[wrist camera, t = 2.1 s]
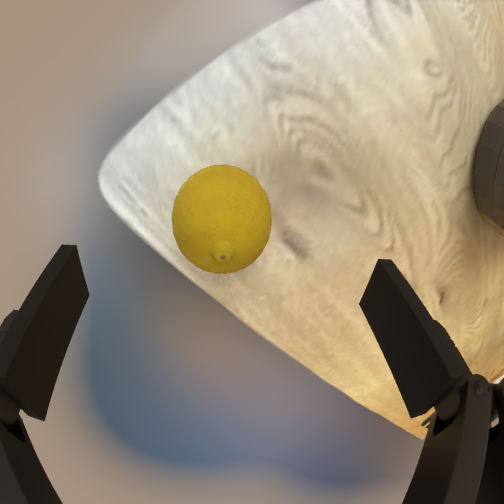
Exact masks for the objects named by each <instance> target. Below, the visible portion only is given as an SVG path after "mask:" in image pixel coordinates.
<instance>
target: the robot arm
mask: <svg viewBox="0 0 504 504" xmlns="http://www.w3.org/2000/svg"><path fill="white" fill-rule="evenodd" d="M88 297H89V292H88V288H87V285H86V281H85V278H84V274H83V271H82V266H81V263H80V259H79V254H78V250H77V246H76V245H61V247H60V248H59V249H58V251H57V252H56V253H55V255H54V256H53V258H52V259H51V261H50V262H49V264H48V265H47V266H46V268H45V269H44V271H43V272H42V274H41V275H40V277H39V278H38V280H37V282H36V283H35V285H34V286H33V288H32V289H31V291H30V293H29V294H28V296H27V297H26V299H25V301H24V302H23V304H22V306H21V308H20V309H19V311H18V310H13V311H12V312H11V313H10V314H9V315H8V316H7V317H6V318H5V319H4V321H3V323H2V324H1V326H0V504H63V503H62V502H61V500H60V498H59V497H58V495H57V493H56V491H55V490H54V488H53V486H52V485H51V483H50V481H49V479H48V477H47V475H46V473H45V471H44V469H43V467H42V465H41V463H40V461H39V459H38V457H37V454H36V452H35V450H34V448H33V446H32V443H31V441H30V438H29V436H28V434H27V431H26V428H25V426H24V423H23V420H22V418H21V417H20V415H19V412H20V408H21V409H22V410H23V411H24V412H25V413H26V414H27V415H28V416H30V417H33V418H36V419H39V420H42V421H44V420H45V417H46V414H47V410H48V407H49V403H50V399H51V396H52V393H53V389H54V386H55V383H56V380H57V377H58V374H59V371H60V367H61V365H62V362H63V359H64V357H65V354H66V351H67V348H68V346H69V343H70V340H71V338H72V335H73V333H74V330H75V327H76V325H77V323H78V320H79V318H80V316H81V313H82V311H83V308H84V306H85V304H86V302H87V300H88ZM359 305H360V307H361V309H362V311H363V313H364V315H365V317H366V319H367V321H368V323H369V325H370V327H371V329H372V331H373V333H374V335H375V337H376V340H377V342H378V344H379V346H380V348H381V350H382V352H383V354H384V357H385V359H386V361H387V363H388V365H389V368H390V370H391V372H392V374H393V377H394V379H395V381H396V384H397V386H398V388H399V391H400V393H401V395H402V398H403V400H404V403H405V405H406V407H407V410H408V412H409V415H410V417H411V418H414V417H417V416H420V415H423V414H425V413H426V412H428V411H429V410H430V409H431V408H432V407H433V406H434V408H435V410H436V411H435V412H434V413H433V414H432V415H430V416H429V417H428V418H427V419H426V420H424V421H423V423H422V425H421V426H424V425H426V424H427V423H428V422H429V421H430V424H429V425H428V426H427V427H426V428H428V432H427V435H426V439H425V442H424V446H423V449H422V452H421V455H420V458H419V461H418V464H417V467H416V470H415V473H414V475H413V479H412V481H411V483H410V486H409V488H408V491H407V493H406V496H405V498H404V500H403V502H402V504H504V378H503V379H502V380H501V381H500V382H499V383H498V384H497V383H489V382H488V381H487V380H486V378H484V377H483V376H482V375H479V374H474V375H473V374H472V373H471V371H470V369H469V368H468V366H467V364H466V362H465V361H464V359H463V357H462V356H461V354H460V352H459V351H458V349H457V347H455V344H454V342H453V341H452V339H450V338H451V337H450V336H449V334H448V333H447V331H446V330H445V328H444V327H443V326H442V325H441V324H440V323H439V322H437V321H436V320H433V318H432V317H431V315H430V314H429V312H428V311H427V309H426V308H425V306H424V305H423V303H422V302H421V300H420V299H419V297H418V296H417V294H416V293H415V292H414V290H413V289H412V287H411V286H410V285H409V283H408V282H407V280H406V279H405V278H404V276H403V275H402V273H401V272H400V271H399V269H398V268H397V267H396V265H395V264H394V263H393V261H392V260H388V259H378V261H377V263H376V266H375V268H374V271H373V273H372V275H371V278H370V280H369V282H368V285H367V287H366V289H365V292H364V294H363V296H362V298H361V301H360V303H359ZM497 417H499V423H498V424H497V425H496V426H494V427H493V428H492V427H491V422H492V421H494V420H495V419H496V418H497Z"/></svg>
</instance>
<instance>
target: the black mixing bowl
mask: <svg viewBox="0 0 504 504" xmlns="http://www.w3.org/2000/svg"><path fill="white" fill-rule="evenodd" d="M474 193H475V198H476V204H477V209H478V210H479V212H480V214H481V216H482V218H483V219H484V221H486V222H487V223H488V224H489V225H490V226H491V227H493V228H494V229H495V230H496V231H497V232H498V233H500V234H501V235H502V236H503V237H504V100H503V101H502V102H500V103H499V104H498V105H497V106H496V107H495V109H494V110H493V112H492V114H491V115H490V117H489V119H488V120H487V122H486V124H485V127H484V130H483V133H482V136H481V139H480V142H479V145H478V151H477V157H476V162H475V168H474Z"/></svg>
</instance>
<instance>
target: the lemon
mask: <svg viewBox="0 0 504 504" xmlns="http://www.w3.org/2000/svg"><path fill="white" fill-rule="evenodd" d="M271 223H272V220H271V207H270V203H269V201H268V198H267V195H266V193H265V191H264V189H263V188H262V187H261V185H260V184H259V182H258V181H257V180H256V179H255V178H254V177H253V176H251V175H250V174H249V173H248V172H246V171H244V170H242V169H239V168H237V167H234V166H229V165H214V166H210V167H207V168H204V169H201V170H200V171H198V172H197V173H195V174H193V175H192V176H191V177H190V178H189V179H188V180H187V181H186V182H185V183H184V184H183V185H182V187H181V188H180V190H179V192H178V194H177V196H176V199H175V201H174V207H173V212H172V225H173V233H174V237H175V240H176V242H177V244H178V247H179V249H180V251H181V252H182V253H183V255H184V256H185V257H186V258H187V260H189V261H190V262H191V263H193V264H194V265H195V266H196V267H198V268H200V269H203V270H205V271H208V272H212V273H231V272H236V271H238V270H241V269H243V268H245V267H247V266H248V265H250V264H251V263H253V262H254V261H255V260H256V259H257V258H258V256H259V255H260V254H261V253H262V251H263V249H264V247H265V246H266V244H267V242H268V239H269V234H270V230H271Z"/></svg>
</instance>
